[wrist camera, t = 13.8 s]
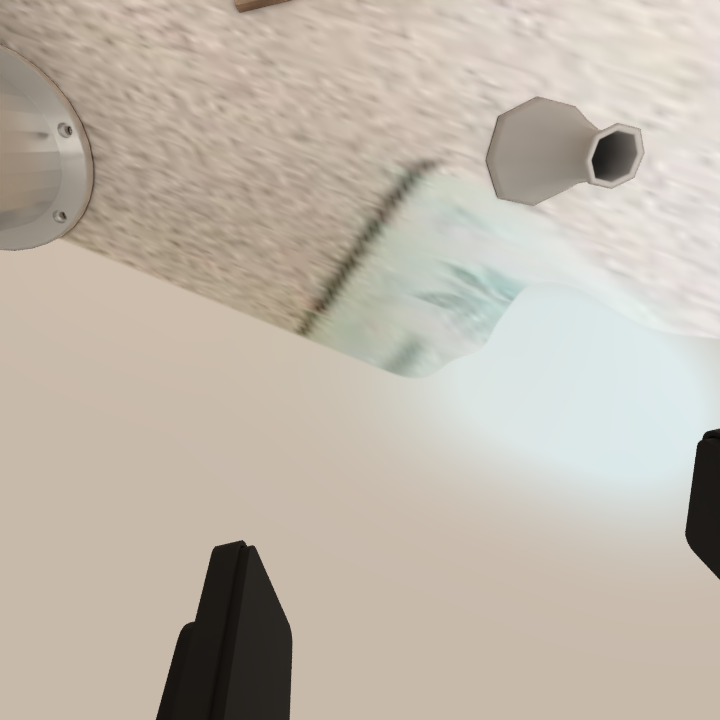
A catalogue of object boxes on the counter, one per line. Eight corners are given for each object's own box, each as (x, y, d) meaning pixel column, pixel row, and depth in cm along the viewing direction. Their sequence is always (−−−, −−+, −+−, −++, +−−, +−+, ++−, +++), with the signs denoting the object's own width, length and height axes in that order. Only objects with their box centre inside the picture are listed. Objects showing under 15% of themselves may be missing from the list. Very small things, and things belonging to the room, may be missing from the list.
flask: (485, 211, 35) (545, 235, 26) (484, 103, 32) (554, 87, 23) (577, 199, 35) (669, 217, 26) (586, 90, 32) (694, 68, 23)
